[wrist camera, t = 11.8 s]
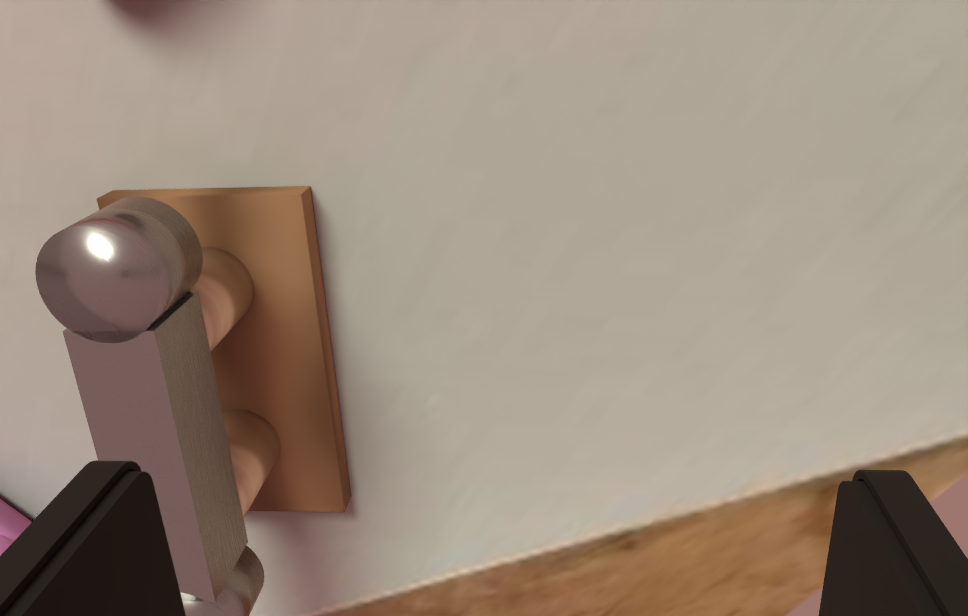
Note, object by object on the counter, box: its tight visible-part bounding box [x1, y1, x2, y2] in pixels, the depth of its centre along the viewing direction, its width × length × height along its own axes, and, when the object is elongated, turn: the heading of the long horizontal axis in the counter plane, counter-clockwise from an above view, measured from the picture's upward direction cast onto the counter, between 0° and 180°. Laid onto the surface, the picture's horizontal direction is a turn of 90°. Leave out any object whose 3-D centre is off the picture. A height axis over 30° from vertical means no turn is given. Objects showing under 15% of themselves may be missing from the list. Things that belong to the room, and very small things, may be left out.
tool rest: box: [97, 186, 351, 518], centre depth 40 cm, size 10×18×7 cm, turn 3°
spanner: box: [36, 196, 264, 616], centre depth 35 cm, size 5×21×4 cm, turn 2°
